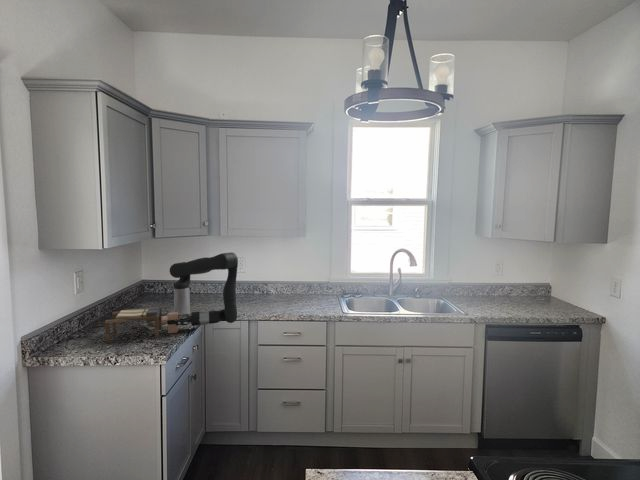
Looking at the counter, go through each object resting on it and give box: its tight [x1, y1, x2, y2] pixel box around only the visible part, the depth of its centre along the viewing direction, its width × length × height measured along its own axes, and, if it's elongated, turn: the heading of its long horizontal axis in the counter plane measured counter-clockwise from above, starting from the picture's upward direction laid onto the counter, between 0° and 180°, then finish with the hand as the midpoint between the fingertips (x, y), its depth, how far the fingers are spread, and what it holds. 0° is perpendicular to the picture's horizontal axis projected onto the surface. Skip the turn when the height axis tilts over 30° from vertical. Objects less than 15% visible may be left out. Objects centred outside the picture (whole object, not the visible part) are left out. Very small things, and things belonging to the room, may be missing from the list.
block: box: [166, 311, 179, 334], centre depth 199 cm, size 5×5×10 cm
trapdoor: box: [116, 305, 161, 322], centre depth 193 cm, size 13×19×4 cm
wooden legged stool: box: [104, 307, 163, 345], centre depth 193 cm, size 17×24×12 cm
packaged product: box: [143, 314, 179, 331], centre depth 212 cm, size 18×5×10 cm
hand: (168, 320), depth 198 cm, fingers open, 5 cm apart
